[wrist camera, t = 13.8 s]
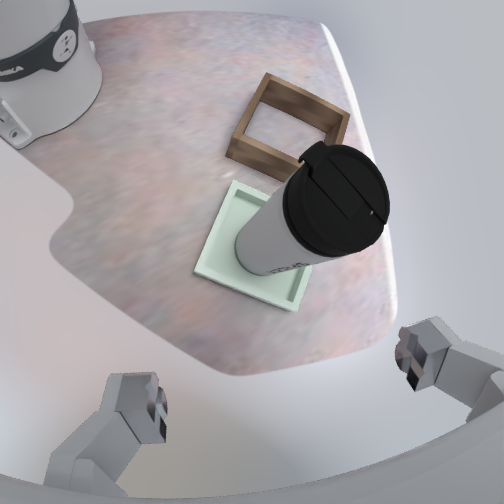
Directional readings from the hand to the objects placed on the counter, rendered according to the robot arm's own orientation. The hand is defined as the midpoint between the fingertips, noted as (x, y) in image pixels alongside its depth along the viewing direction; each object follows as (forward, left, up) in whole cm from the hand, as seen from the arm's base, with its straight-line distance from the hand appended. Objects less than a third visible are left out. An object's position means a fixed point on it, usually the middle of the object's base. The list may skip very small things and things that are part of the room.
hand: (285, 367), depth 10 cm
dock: (+2, +9, -25) cm, 27 cm away
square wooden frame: (0, +23, -25) cm, 34 cm away
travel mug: (+2, +9, -25) cm, 27 cm away
